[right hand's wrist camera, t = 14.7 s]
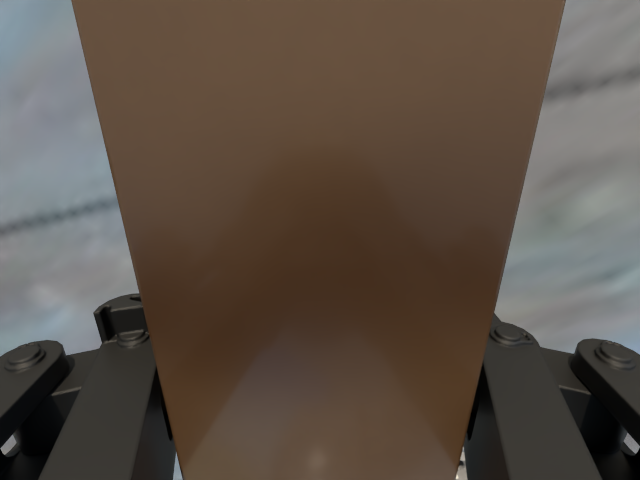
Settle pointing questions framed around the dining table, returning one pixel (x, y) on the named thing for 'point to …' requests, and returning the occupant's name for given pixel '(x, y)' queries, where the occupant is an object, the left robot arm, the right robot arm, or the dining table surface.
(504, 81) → the bar
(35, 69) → the dining table surface
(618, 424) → the right robot arm
